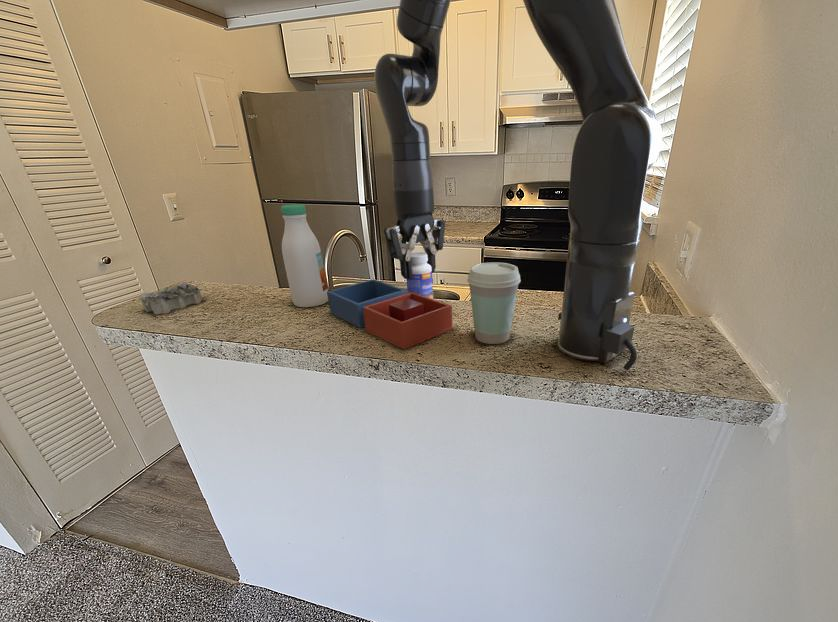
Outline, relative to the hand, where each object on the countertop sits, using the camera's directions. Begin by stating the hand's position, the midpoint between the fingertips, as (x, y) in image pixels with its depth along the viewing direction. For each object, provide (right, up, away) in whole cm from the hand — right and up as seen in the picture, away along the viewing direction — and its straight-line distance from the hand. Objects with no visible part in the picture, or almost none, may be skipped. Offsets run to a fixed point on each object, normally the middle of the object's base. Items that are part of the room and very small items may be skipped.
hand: (419, 275), depth 83 cm
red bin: (-1, -12, -10) cm, 16 cm away
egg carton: (-54, -6, +6) cm, 55 cm away
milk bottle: (-24, -5, +5) cm, 25 cm away
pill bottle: (0, -5, +3) cm, 6 cm away
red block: (-1, -12, -10) cm, 16 cm away
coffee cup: (+14, -14, -14) cm, 24 cm away
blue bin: (-10, -8, -2) cm, 13 cm away
